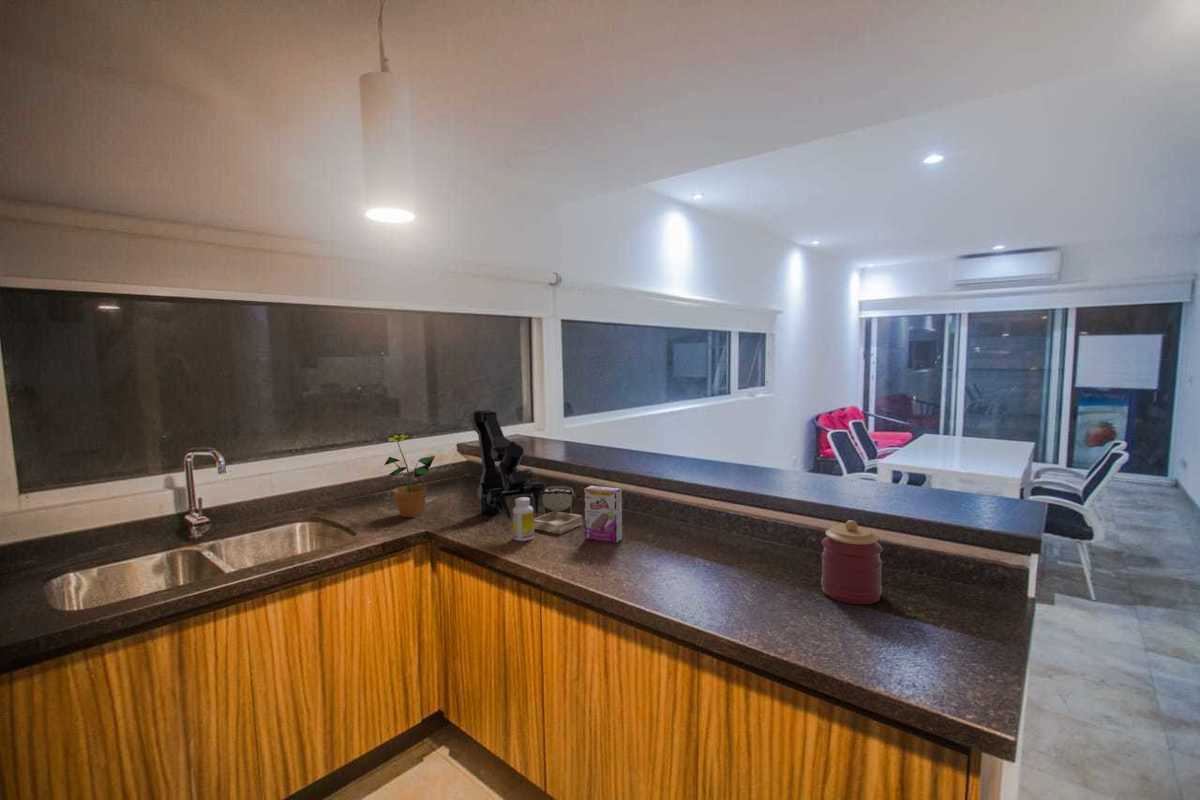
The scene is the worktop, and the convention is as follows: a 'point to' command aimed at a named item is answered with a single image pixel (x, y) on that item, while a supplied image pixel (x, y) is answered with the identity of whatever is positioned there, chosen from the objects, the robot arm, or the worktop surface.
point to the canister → (851, 564)
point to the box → (557, 522)
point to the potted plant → (410, 495)
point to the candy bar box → (603, 514)
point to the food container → (557, 499)
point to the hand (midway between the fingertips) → (523, 515)
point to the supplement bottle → (523, 520)
